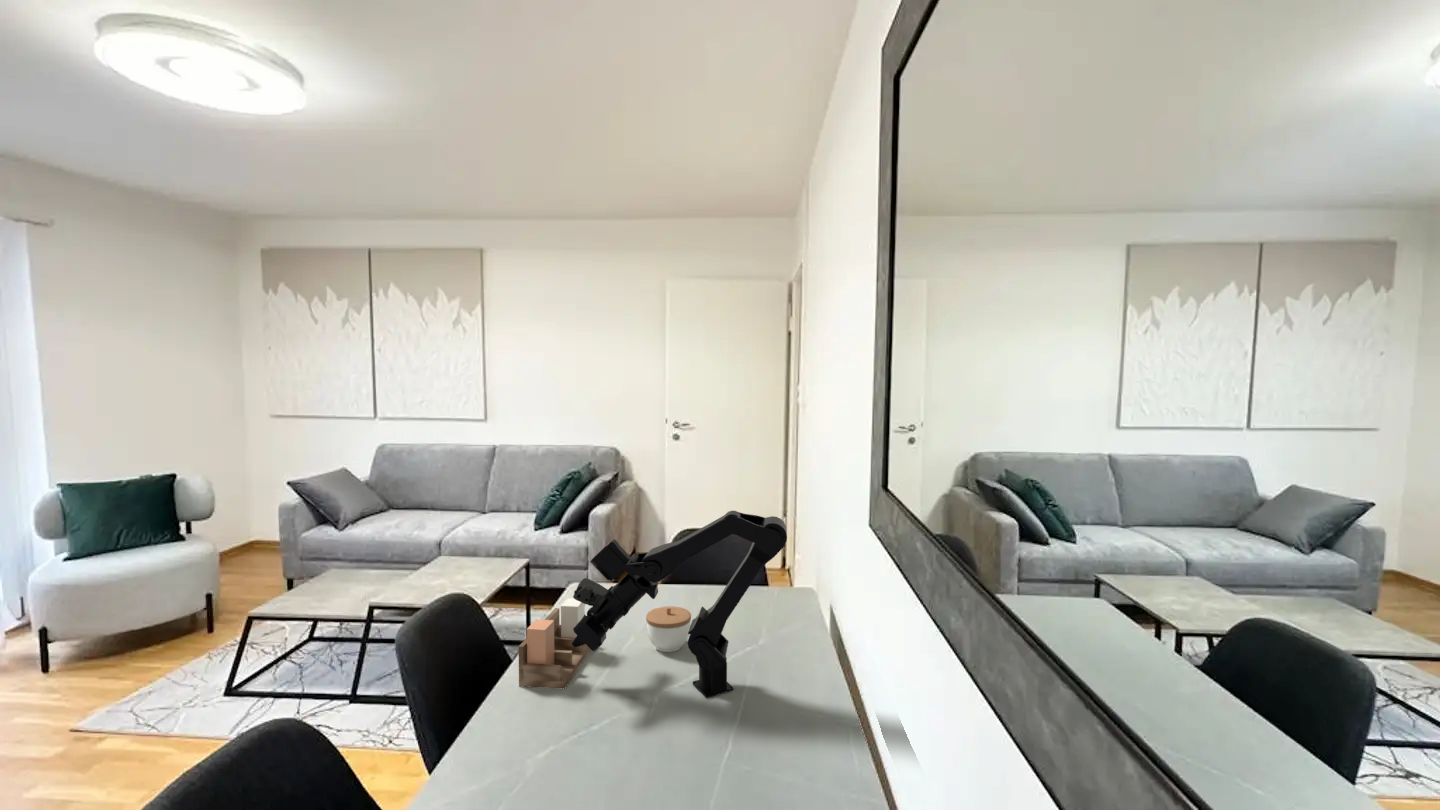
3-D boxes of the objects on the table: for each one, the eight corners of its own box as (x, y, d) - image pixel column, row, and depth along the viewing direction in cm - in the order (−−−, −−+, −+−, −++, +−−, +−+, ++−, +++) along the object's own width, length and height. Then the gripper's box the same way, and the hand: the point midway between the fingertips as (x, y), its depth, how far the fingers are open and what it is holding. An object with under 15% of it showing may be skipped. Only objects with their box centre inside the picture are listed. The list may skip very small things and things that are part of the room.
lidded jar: (693, 637, 149) (693, 600, 149) (687, 657, 139) (687, 617, 138) (651, 635, 150) (651, 598, 150) (641, 655, 140) (641, 615, 139)
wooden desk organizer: (595, 644, 145) (594, 609, 145) (564, 689, 125) (564, 648, 124) (555, 642, 146) (555, 608, 146) (518, 686, 125) (518, 646, 125)
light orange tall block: (554, 665, 131) (554, 620, 131) (545, 676, 126) (545, 629, 126) (536, 664, 132) (536, 619, 131) (527, 675, 127) (526, 629, 126)
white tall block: (584, 639, 144) (584, 598, 143) (578, 649, 139) (577, 606, 138) (568, 639, 144) (568, 598, 144) (561, 648, 139) (560, 605, 139)
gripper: (609, 555, 136) (562, 601, 137) (582, 583, 117) (529, 636, 119) (644, 590, 135) (596, 636, 137) (622, 624, 117) (568, 677, 119)
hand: (573, 645), depth 128 cm, fingers closed
